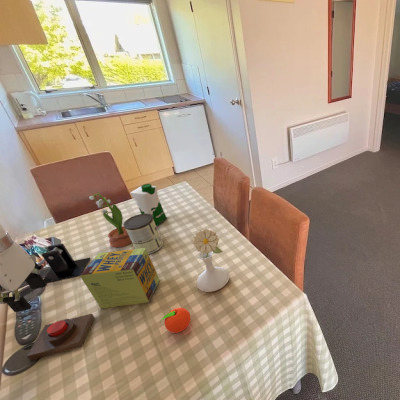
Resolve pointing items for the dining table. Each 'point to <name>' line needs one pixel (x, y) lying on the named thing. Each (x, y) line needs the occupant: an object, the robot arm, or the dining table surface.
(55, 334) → the button
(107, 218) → the potted flower
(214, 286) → the flower in vase
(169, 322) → the clementine
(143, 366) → the dining table surface
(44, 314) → the dining table surface
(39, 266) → the toast lever
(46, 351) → the button block
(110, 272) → the protein box
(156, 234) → the coffee can
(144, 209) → the milk carton
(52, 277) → the bracket
